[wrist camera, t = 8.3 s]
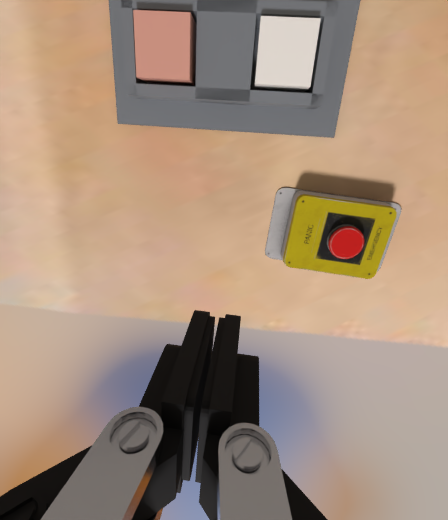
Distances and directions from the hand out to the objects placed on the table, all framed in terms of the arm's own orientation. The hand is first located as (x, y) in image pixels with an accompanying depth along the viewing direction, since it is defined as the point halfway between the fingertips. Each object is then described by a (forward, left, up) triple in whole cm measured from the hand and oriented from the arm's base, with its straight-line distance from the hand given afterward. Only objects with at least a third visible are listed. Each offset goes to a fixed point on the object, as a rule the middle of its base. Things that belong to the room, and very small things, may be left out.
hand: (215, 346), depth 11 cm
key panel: (+3, -14, -28) cm, 31 cm away
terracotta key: (+8, -14, -26) cm, 30 cm away
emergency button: (-11, +3, -29) cm, 31 cm away
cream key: (-3, -14, -26) cm, 29 cm away
